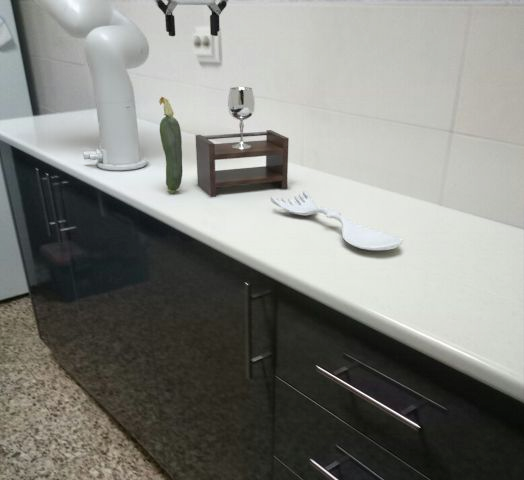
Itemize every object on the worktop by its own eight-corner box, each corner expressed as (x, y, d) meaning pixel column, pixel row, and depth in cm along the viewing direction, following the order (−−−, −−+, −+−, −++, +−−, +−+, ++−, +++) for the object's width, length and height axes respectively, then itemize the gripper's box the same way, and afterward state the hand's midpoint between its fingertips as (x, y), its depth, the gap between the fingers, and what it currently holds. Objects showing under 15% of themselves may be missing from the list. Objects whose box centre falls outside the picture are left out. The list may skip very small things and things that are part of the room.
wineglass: (251, 150, 127) (251, 90, 121) (225, 148, 128) (224, 89, 122) (256, 144, 132) (257, 87, 126) (232, 143, 133) (231, 86, 127)
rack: (210, 196, 128) (209, 143, 122) (197, 185, 135) (195, 135, 130) (287, 188, 134) (288, 138, 128) (270, 178, 142) (271, 129, 136)
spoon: (304, 204, 123) (304, 188, 121) (412, 253, 100) (415, 233, 98) (268, 211, 119) (268, 194, 117) (372, 263, 96) (374, 243, 94)
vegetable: (187, 192, 130) (182, 96, 120) (179, 197, 127) (172, 99, 116) (169, 190, 131) (163, 94, 121) (160, 195, 128) (153, 97, 118)
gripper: (223, -56, 125) (224, 34, 134) (143, -60, 119) (150, 35, 128) (234, -59, 119) (236, 36, 128) (151, -63, 113) (158, 37, 122)
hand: (193, 35), depth 128 cm, fingers open, 9 cm apart
